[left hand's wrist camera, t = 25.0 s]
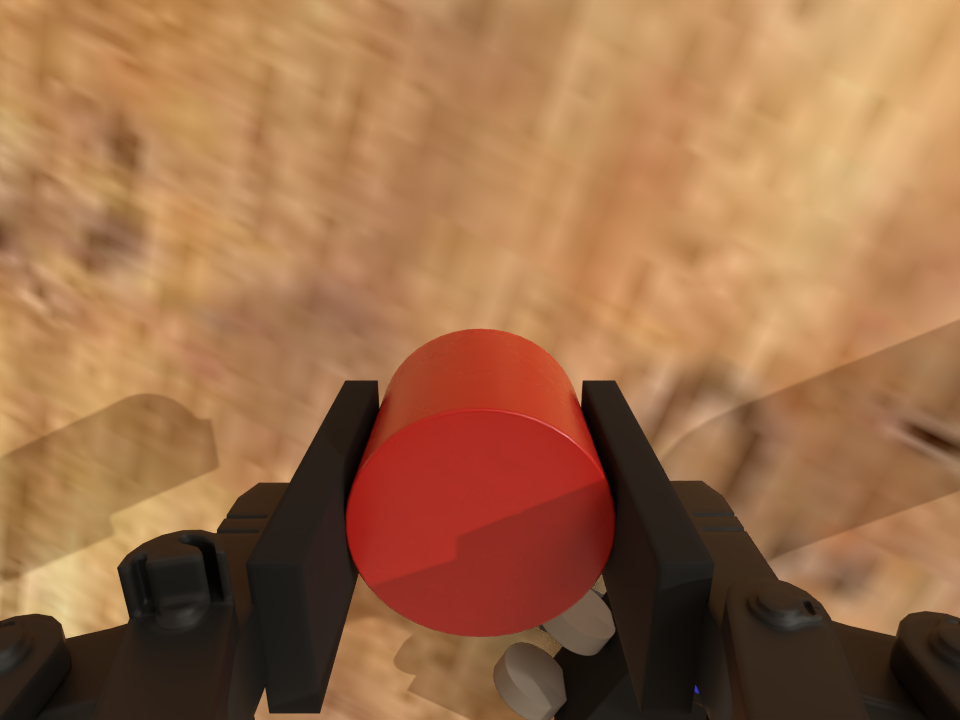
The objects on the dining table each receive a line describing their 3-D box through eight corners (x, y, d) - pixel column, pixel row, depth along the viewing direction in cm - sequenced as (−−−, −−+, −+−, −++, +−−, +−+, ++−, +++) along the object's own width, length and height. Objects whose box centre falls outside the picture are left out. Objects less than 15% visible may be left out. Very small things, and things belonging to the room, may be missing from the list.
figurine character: (493, 613, 35) (719, 728, 36) (479, 727, 28) (763, 868, 29) (551, 525, 33) (789, 649, 34) (553, 623, 26) (856, 778, 27)
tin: (355, 356, 14) (305, 446, 10) (555, 305, 14) (586, 378, 10) (415, 524, 16) (391, 660, 12) (596, 482, 16) (637, 609, 11)
